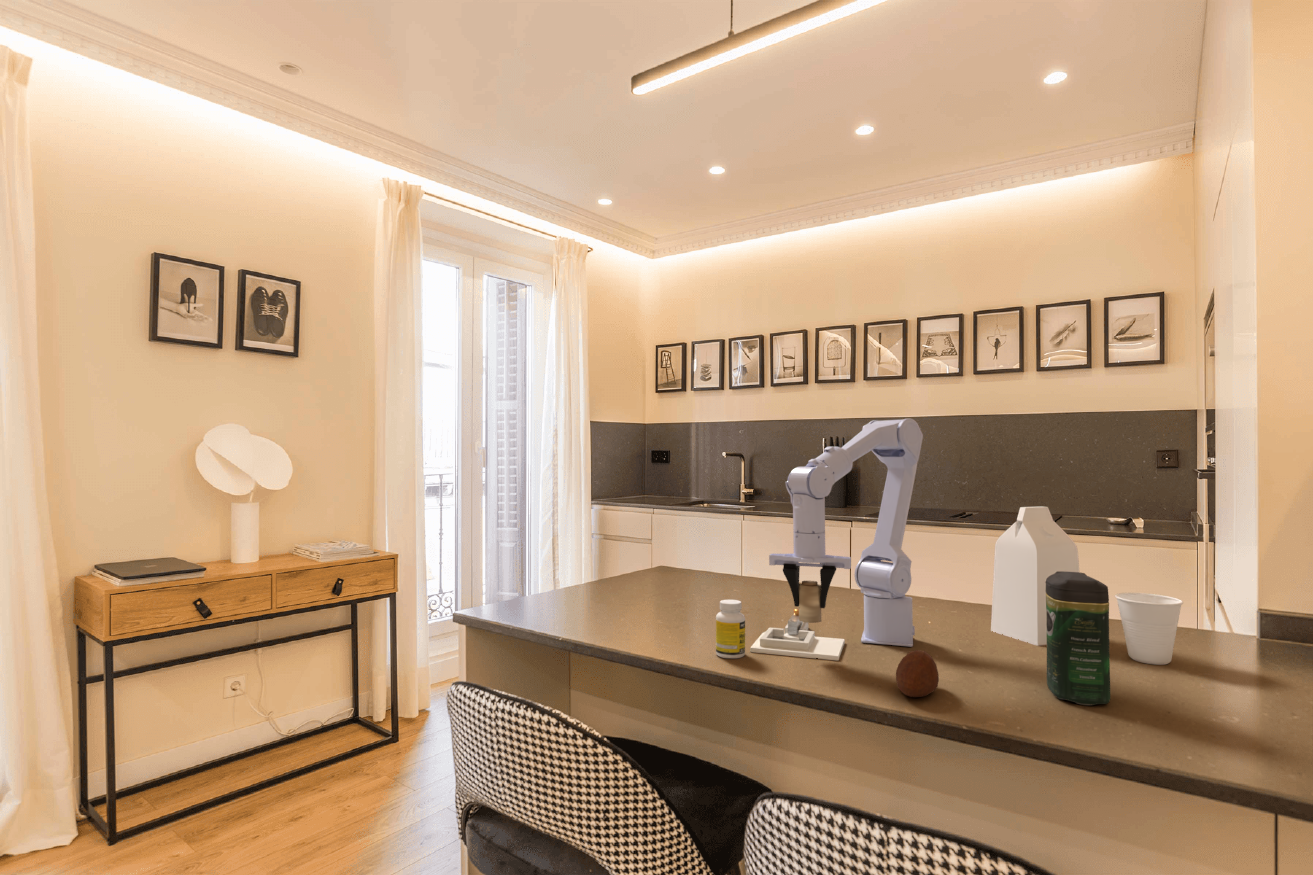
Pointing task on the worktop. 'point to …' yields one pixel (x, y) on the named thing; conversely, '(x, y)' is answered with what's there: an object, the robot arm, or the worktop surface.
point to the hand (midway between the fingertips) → (810, 606)
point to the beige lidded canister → (809, 602)
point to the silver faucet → (794, 623)
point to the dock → (798, 644)
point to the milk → (1028, 573)
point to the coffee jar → (1078, 638)
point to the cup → (1149, 625)
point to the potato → (917, 674)
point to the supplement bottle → (730, 630)
